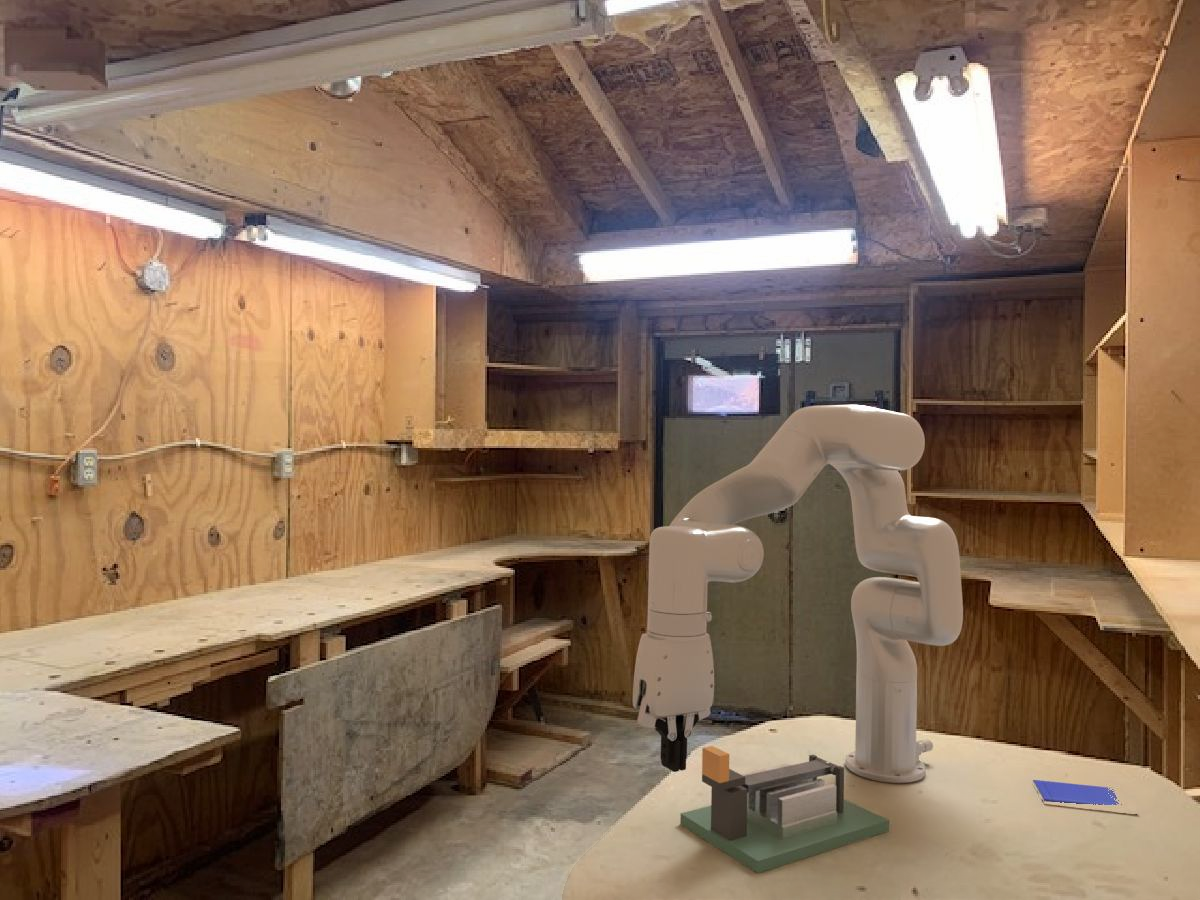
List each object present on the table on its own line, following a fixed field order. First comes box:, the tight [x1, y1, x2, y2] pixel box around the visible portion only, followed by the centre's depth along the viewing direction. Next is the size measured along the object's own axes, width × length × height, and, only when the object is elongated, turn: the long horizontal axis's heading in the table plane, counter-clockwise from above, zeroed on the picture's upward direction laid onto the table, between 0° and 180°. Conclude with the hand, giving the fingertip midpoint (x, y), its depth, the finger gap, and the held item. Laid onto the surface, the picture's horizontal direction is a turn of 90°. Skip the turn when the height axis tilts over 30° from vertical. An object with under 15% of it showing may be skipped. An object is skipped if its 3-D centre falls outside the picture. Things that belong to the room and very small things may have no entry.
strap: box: [741, 756, 838, 793], centre depth 120 cm, size 17×4×1 cm, turn 121°
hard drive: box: [1032, 779, 1122, 805], centre depth 132 cm, size 2×8×12 cm
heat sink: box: [740, 763, 837, 839], centre depth 120 cm, size 10×10×5 cm
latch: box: [701, 745, 745, 791], centre depth 114 cm, size 4×4×4 cm
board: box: [679, 754, 890, 874], centre depth 120 cm, size 24×16×8 cm, turn 121°
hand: (673, 767), depth 110 cm, fingers closed
